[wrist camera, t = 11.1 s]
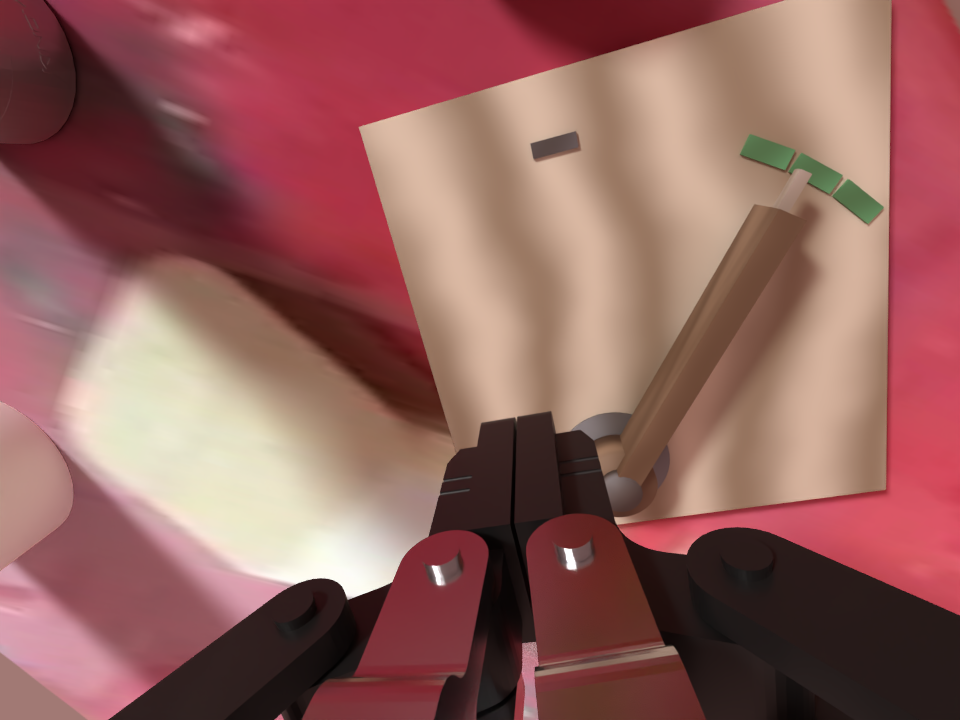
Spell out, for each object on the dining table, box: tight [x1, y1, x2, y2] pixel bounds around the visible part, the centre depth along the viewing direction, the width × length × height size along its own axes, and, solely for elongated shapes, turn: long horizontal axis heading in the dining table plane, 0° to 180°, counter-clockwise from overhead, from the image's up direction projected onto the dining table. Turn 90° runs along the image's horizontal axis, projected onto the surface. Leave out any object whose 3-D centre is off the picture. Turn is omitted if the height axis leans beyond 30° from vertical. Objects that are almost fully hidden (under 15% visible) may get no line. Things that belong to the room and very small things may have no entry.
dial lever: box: [594, 169, 812, 517], centre depth 28 cm, size 4×21×3 cm, turn 159°
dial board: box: [359, 0, 891, 525], centre depth 31 cm, size 26×28×2 cm
